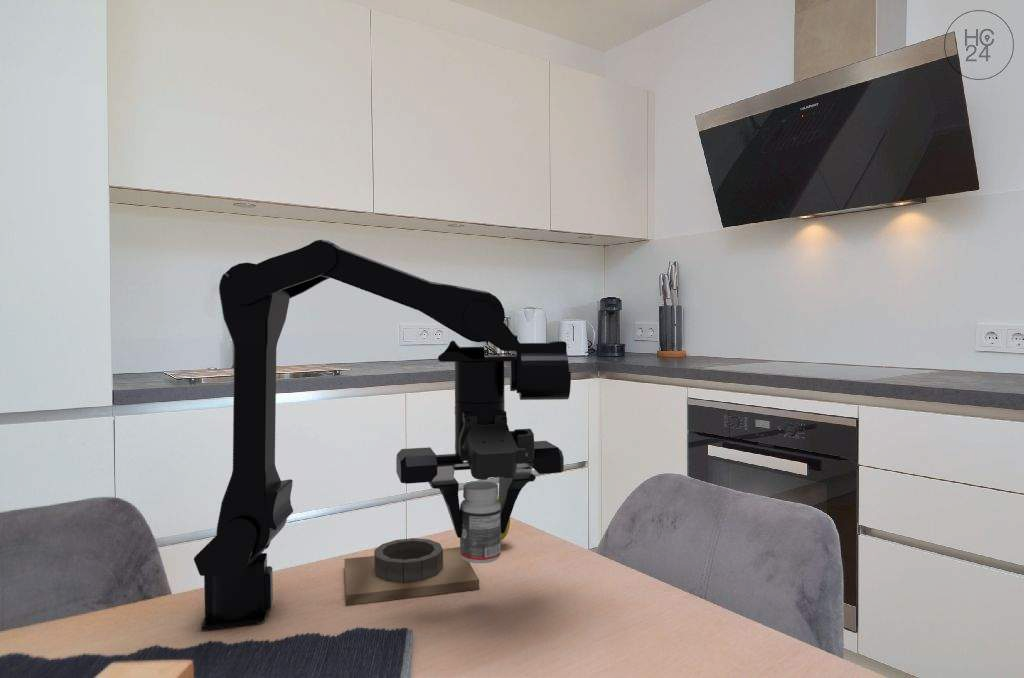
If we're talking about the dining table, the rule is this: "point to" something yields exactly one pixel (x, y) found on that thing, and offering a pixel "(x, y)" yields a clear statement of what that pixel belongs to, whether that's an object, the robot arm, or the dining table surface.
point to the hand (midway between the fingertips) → (480, 534)
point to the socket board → (407, 572)
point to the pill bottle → (480, 523)
